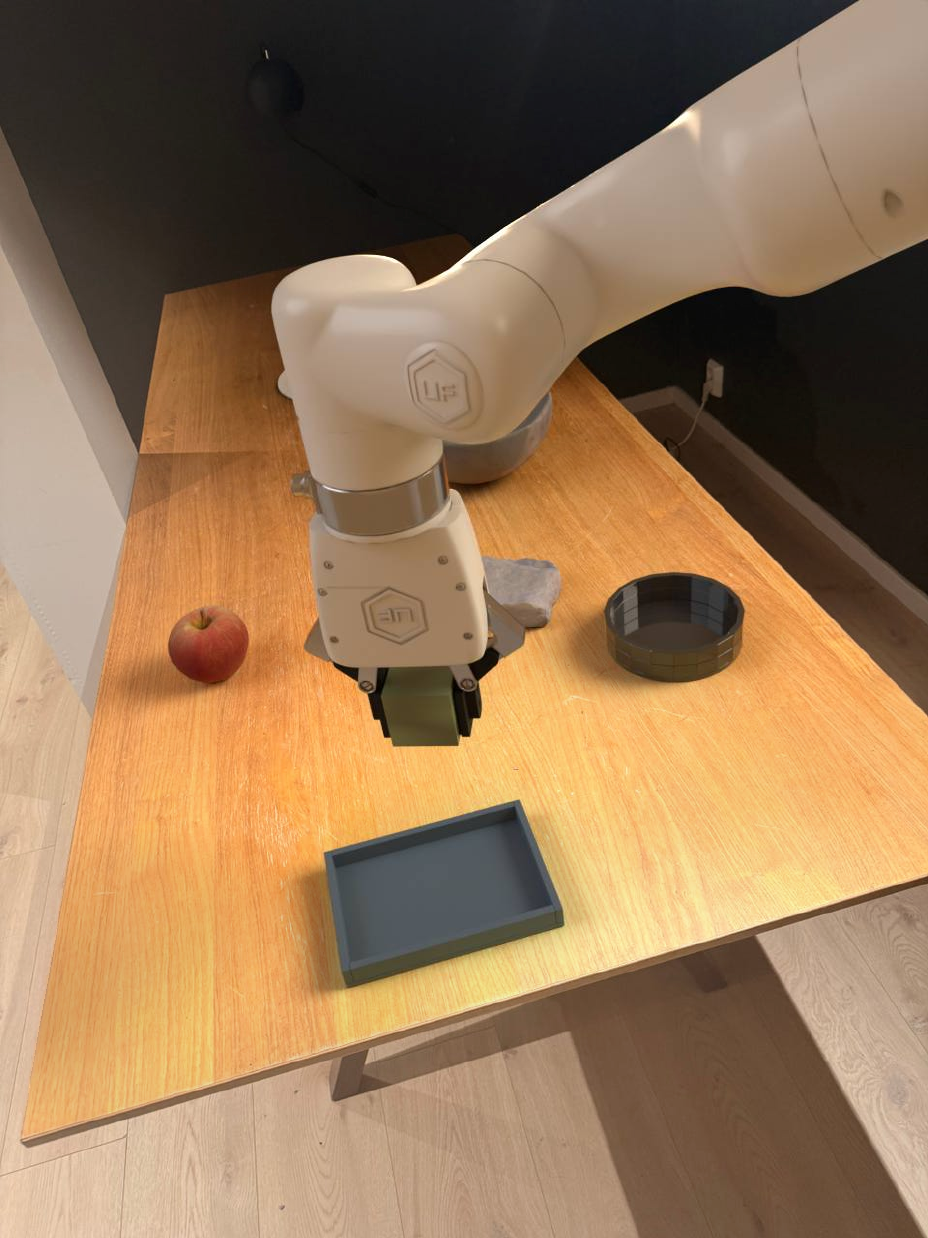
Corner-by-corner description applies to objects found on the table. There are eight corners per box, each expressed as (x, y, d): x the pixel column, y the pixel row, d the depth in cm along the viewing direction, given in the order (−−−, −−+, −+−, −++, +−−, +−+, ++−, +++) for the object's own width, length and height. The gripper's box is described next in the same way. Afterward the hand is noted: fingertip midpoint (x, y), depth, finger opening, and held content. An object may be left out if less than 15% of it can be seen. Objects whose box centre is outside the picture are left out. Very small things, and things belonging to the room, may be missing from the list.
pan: (764, 621, 94) (766, 592, 92) (706, 699, 86) (707, 669, 84) (645, 587, 102) (644, 560, 100) (581, 656, 94) (579, 628, 92)
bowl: (438, 435, 139) (428, 369, 133) (574, 441, 131) (569, 372, 126) (382, 504, 124) (367, 434, 118) (531, 515, 117) (523, 441, 111)
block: (466, 701, 66) (458, 650, 64) (458, 746, 63) (449, 695, 60) (403, 702, 67) (393, 652, 64) (392, 747, 64) (380, 696, 61)
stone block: (468, 585, 109) (437, 622, 101) (467, 546, 107) (435, 581, 99) (569, 598, 105) (545, 637, 97) (570, 557, 103) (546, 594, 95)
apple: (273, 655, 100) (253, 593, 96) (227, 703, 95) (203, 640, 90) (214, 641, 104) (192, 581, 99) (166, 687, 98) (141, 625, 94)
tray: (521, 815, 78) (519, 798, 77) (564, 926, 69) (563, 908, 68) (328, 868, 76) (323, 852, 75) (347, 988, 67) (341, 972, 66)
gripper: (222, 529, 53) (298, 764, 63) (526, 514, 50) (551, 762, 60) (261, 465, 59) (324, 689, 69) (534, 448, 56) (556, 685, 66)
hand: (429, 721), depth 65 cm, fingers closed on block, 4 cm apart
